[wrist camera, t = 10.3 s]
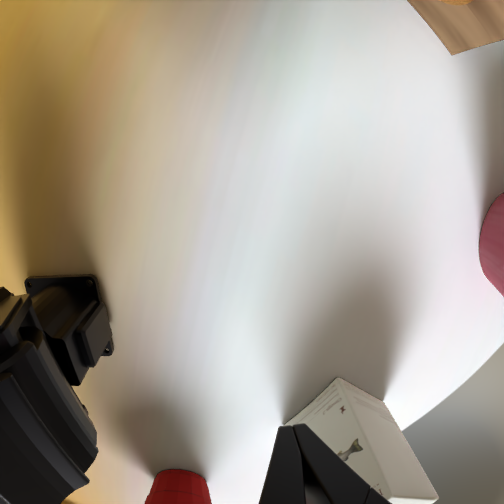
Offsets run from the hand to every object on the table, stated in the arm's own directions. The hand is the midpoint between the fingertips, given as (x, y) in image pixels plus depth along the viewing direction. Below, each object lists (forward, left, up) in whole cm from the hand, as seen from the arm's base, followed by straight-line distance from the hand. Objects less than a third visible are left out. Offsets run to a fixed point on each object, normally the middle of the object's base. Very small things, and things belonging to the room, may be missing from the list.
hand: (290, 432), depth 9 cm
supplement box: (+7, -14, -13) cm, 20 cm away
